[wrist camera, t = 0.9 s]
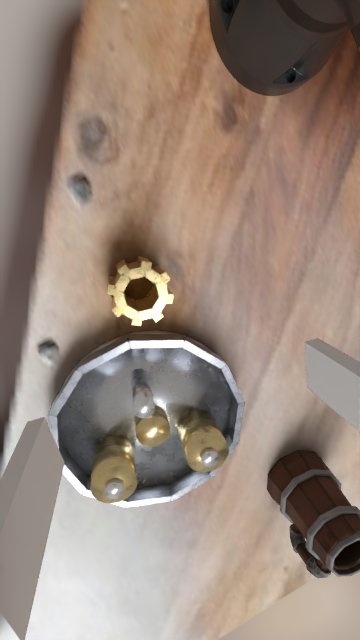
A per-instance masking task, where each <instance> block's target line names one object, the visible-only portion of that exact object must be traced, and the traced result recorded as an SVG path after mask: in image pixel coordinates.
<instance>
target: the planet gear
mask: <svg viewBox="0 0 360 640" xmlns="http://www.w3.org/2000/svg"><path fill="white" fill-rule="evenodd" d="M151 264H152V263H151V262H150V261H149V260H148V259H147V258H145V257H140V256H138V257H137V261H136V262H132V263H126V262H125V260H124V259H123V260H122V261H120V262H119V263H118V264H117V271H118V273H117V274H116V276H115V277H111V276H109V283H108V292H107V294H108V295H114V297H112V311H113V312H114V313H115V315H116V316H117V317H119V316H120V315H122V314H124V315H126V316H127V317H129V318H130V319H131V325H136V326H141V323H142V320H146V319H150V318H153V319H154V320H155V321H156V322H157V321H159V320H160V319H161V318H163V317H164V316H163V315H162V313H161V311H162V309H163V308H164V306H165V305H166V303H169V304H172V302H173V297H174V294H173V293H172V292H171V291H170V290H169V289H168V288H167V286H166V283H167V282H168V281H170V280H171V279H170V278H169V276H168V275H167V273H166V272H165V271H164V270H163V269H162V268H160V267H159V266H156V267H155V268H152V267H151ZM141 277H146V278H147V279H149V280H150V281H151V282H152V287H153V288H152V289H151V291H150V292H149V294H148V296H147V297H145V298H141V299H137V300H134V299H133V298H131V297H129V296H127V295H126V294H125V293H124V290H125V288H126V286H127V285H128V283H129V281H130V280H132V279H137V278H141Z"/></svg>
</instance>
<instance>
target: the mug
mask: <svg viewBox="0 0 360 640" xmlns="http://www.w3.org/2000/svg"><path fill="white" fill-rule="evenodd" d="M340 489H341V483H340V482H339V481H338V480H337V478H336V477H335V476H334V475H333V473H332V472H331V471H330V470H329V468H328V467H327V466H326V465H325V464H324V462H323V461H322V460H321V459H320V458H319V456H318V455H317V454H316V453H315V452H309V451H296V452H294V453H292V454H290V455H288V456H286V457H284V458H282V459H280V460H279V461H278V463H277V464H276V465H275V467H274V468H273V469H272V470H271V472H270V473H269V474H268V488H267V490H268V492H269V494H270V495H271V497H272V498H273V499H274V500H275V501H276V502H277V503H278V504H279V505H280V511H281V513H282V514H283V515H284V516H285V517H286V518H287V519H288V520H289V521H290V522H291V523H293V524H292V525H291V526H290V539H291V543H292V546H293V548H294V551H295V552H296V553H298V554H299V555H300V557H301V558H302V559H303V561H304V562H305V564H306V567H307V570H308V571H309V572H310V573H312V574H313V575H314V576H315V577H317V578H326V577H328V575H330V574H331V571H332V572H333V573H334V574H335V575H337V576H352V575H354V574H355V573H357V572H359V571H360V510H359V509H358V508H357V507H356V506H351V504H350V503H349V501H348V500H347V499H346V497H345V496H344V494H343V493H342V491H341V490H340ZM304 537H305V538H306V541H305V538H304Z"/></svg>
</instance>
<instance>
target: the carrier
mask: <svg viewBox="0 0 360 640" xmlns="http://www.w3.org/2000/svg"><path fill="white" fill-rule="evenodd" d="M244 405H245V402H244V399H243V397H242V395H241V393H240V390H239V388H238V386H237V384H236V382H235V380H234V378H233V376H232V374H231V372H230V370H229V367H228V365H227V364H226V363H225V361H224V360H223V359H222V358H221V357H220V356H219V355H217V354H215V353H214V352H212V351H210V350H209V349H208V348H207V347H206V346H204V345H203V344H201V343H200V342H198V341H196V340H194V339H192V338H190V337H188V336H185V335H182V334H178V333H174V332H168V331H157V330H150V331H139V332H134V333H128V334H125V335H122V336H119V337H116V338H114V339H111V340H109V341H107V342H105V343H103V344H101V345H100V346H98V347H97V348H95V349H93V350H92V351H91V352H89V353H88V354H87V355H86V356H85V357H83V358H82V359H81V360H80V361H78V363H77V364H76V366H75V367H74V368H73V369H72V371H71V372H70V373H69V375H68V376H67V378H66V380H65V382H64V384H63V386H62V388H61V390H60V392H59V393H58V395H57V397H56V398H55V400H54V401H53V403H52V406H51V409H50V412H49V415H48V419H49V429H50V431H51V433H52V435H53V438H54V440H55V442H56V444H57V446H58V449H59V451H60V453H61V455H62V458H63V460H64V467H63V471H62V473H63V475H64V476H65V477H66V478H67V479H68V480H69V481H70V482H71V483H72V485H73V486H74V487H75V488H76V489H77V490H78V491H79V492H80V493H82V495H85V496H89V497H92V498H95V499H97V500H99V501H101V502H104V503H112V504H115V505H118V506H122V507H125V506H126V507H133V506H140V505H148V504H155V503H162V502H169V501H172V500H175V499H177V498H178V497H180V496H182V495H184V494H185V493H187V492H189V491H191V490H192V489H194V488H196V487H198V486H199V485H201V484H203V483H205V482H206V481H208V480H210V479H211V478H212V477H214V475H215V474H216V473H217V471H218V470H219V469H220V467H221V466H222V465H223V463H224V462H225V461H226V459H227V458H228V457H229V455H230V454H231V453H232V451H233V450H234V448H235V447H236V446H237V444H238V442H239V438H240V431H241V425H242V418H243V412H244Z"/></svg>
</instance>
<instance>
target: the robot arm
mask: <svg viewBox="0 0 360 640" xmlns="http://www.w3.org/2000/svg"><path fill="white" fill-rule="evenodd" d="M210 21H211V28H212V33H213V37H214V41H215V44H216V47H217V50H218V52H219V55H220V57H221V59H222V61H223V63H224V64H225V66H226V67H227V69H228V70H229V72H230V73H231V74H232V75H233V77H234V78H235V79H236V80H237V81H238V82H239V83H241V84H242V85H243V86H245V87H246V88H248V89H249V90H251V91H253V92H256V93H258V94H262V95H267V96H278V95H283V94H287V93H290V92H292V91H294V90H296V89H297V88H299V87H300V86H302V85H303V84H304V83H306V82H307V81H308V80H310V79H311V78H312V77H313V76H315V75H316V74H317V73H318V72H319V71H320V70H321V69H322V68H323V66H324V65H325V64H326V63H327V61H328V60H329V59H330V57H331V55H332V54H333V52H334V51H335V49H336V47H337V46H338V44H339V43H340V41H341V39H342V38H343V36H344V35H345V33H346V31H347V30H348V28H349V27H350V29H351V31H352V34H353V36H354V39H355V41H356V44H357V48H358V50H359V53H360V0H210ZM305 360H306V378H307V388H309V389H310V390H311V391H312V392H313V393H314V394H316V395H317V396H318V397H319V398H320V399H321V400H322V401H324V402H325V403H326V404H327V405H328V406H329V407H331V408H332V409H333V410H334V411H335V412H336V413H338V414H339V415H340V416H341V417H342V418H343V419H344V420H346V421H347V422H348V423H349V424H350V425H351V426H353V427H354V428H355V429H356V430H357V431H358V432H360V362H359V361H357V360H355V359H353V358H352V357H350V356H348V355H346V354H345V353H343V352H341V351H339V350H338V349H336V348H334V347H332V346H331V345H329V344H327V343H325V342H324V341H322V340H320V339H318V338H317V339H314V340H310V341H307V342H305ZM63 467H64V460H63V458H62V455H61V453H60V451H59V449H58V446H57V444H56V442H55V440H54V438H53V435H52V433H51V431H50V429H49V426H48V424H47V422H46V420H45V417H43V418H39V419H36V420H33V421H29V422H27V424H26V426H25V428H24V430H23V432H22V435H21V437H20V439H19V441H18V443H17V445H16V448H15V450H14V452H13V454H12V456H11V459H10V461H9V463H8V465H7V467H6V469H5V472H4V474H3V476H2V478H1V480H0V640H25V636H26V631H27V627H28V622H29V618H30V613H31V609H32V605H33V600H34V596H35V591H36V587H37V582H38V578H39V573H40V569H41V565H42V560H43V556H44V551H45V547H46V542H47V538H48V533H49V529H50V524H51V520H52V516H53V511H54V507H55V502H56V498H57V493H58V489H59V484H60V480H61V476H62V471H63Z"/></svg>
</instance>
